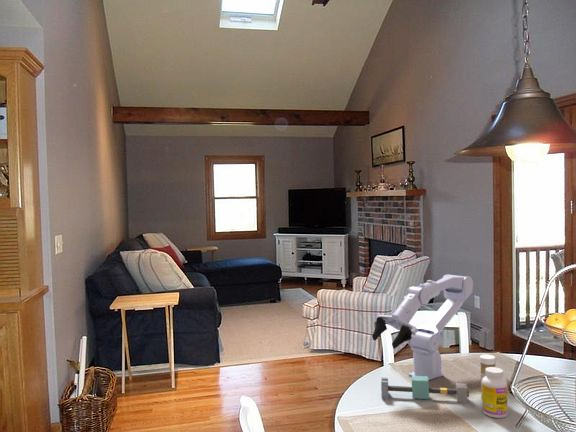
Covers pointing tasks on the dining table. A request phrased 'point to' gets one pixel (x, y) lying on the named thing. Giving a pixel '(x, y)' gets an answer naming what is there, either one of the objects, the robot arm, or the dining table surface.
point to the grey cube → (462, 393)
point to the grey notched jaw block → (384, 388)
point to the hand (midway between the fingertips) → (383, 342)
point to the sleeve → (420, 387)
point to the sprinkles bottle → (486, 364)
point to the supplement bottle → (494, 393)
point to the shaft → (431, 390)
